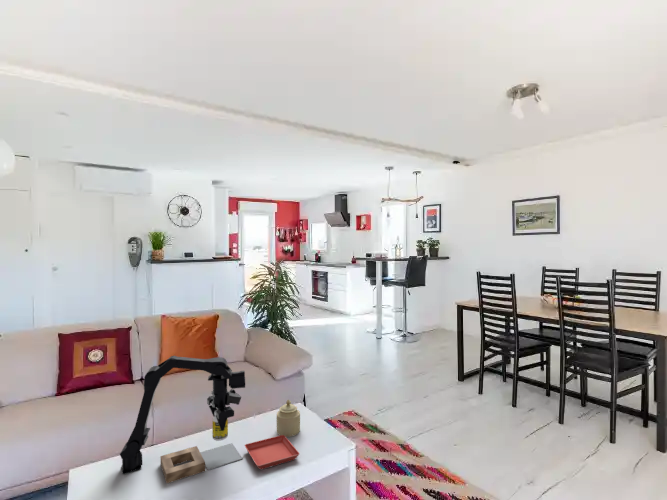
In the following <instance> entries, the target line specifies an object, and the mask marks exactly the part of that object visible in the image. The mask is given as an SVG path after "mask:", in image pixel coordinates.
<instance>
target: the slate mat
mask: <svg viewBox="0 0 667 500" xmlns="http://www.w3.org/2000/svg"><path fill="white" fill-rule="evenodd" d="M200 453H201V455H202V457H203V459H204V461H205V469H207V471H211V470H213V469H216V468H219V467H223V466H227V465H229V464H232V463H235V462H239V461H242V460H244V459H243V458H244V457H242V455H241V454H240V452H239V451H238V449H237V448H236V447H235V445H234V443H233V442H232V443H227V444H223V445H221V446H217V447H214V448H210V449H208V450H204V451H200Z"/></svg>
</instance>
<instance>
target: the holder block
mask: <svg viewBox="0 0 667 500" xmlns="http://www.w3.org/2000/svg"><path fill="white" fill-rule="evenodd" d="M200 452H201V451H200V449H199V448H198V445H196V446H192V447H188V448H186V449H181V450H178V451H175V452H171V453H167V454H164V455H160V457H159V458H160V467H161V470H162V473H163V478H164V480H165V483H166V484H168V483H170V484H171V483H172V482H173V483H174V482H176V481H179V480H182V479H185V478H187V477H192V476H194V475H198V474H200V473H201V474H202V473H204V472H206V466H205V461H204V459H203V457H202V455H201V453H200ZM186 462H187V463H186ZM179 464H180V465H179Z"/></svg>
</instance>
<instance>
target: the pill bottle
mask: <svg viewBox="0 0 667 500" xmlns="http://www.w3.org/2000/svg"><path fill="white" fill-rule="evenodd" d="M216 411H217V410H215V412H214V415H216ZM211 426H212V432H211V434H212V439H213V440H214V441H216V442H217V441H218V442H219V441H223V440H226V439H227V438H228V435H229V418H227V421H226V424H225V428H224V430H221V429H220V426H219V424H218V421H217V419H216V416H214V417H212V425H211Z"/></svg>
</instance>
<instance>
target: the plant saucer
mask: <svg viewBox="0 0 667 500" xmlns="http://www.w3.org/2000/svg"><path fill="white" fill-rule="evenodd" d="M244 447H245V448H246V450H247V452H248V453H249V456H250V457H251V458H252V460H253V462H254V463H255V465H256V468H258V469H259V470H264V469H268V468H271V466H272V467H275V466H277V465H278V464H279V465H281V463H282V464H285V463H288V461H289V462H292V461H294V460H296V459H297V458H298V457H299V455H300V452H299V451H298V449H296V447H295V446H294V445H293V444H292V442H291V441H290V440H289V439H288V437H285V436H284V435H276V436H273V437H268V438H264V439H262V440H257V441H253V442H250V443H246V444H244ZM291 460H292V461H291Z"/></svg>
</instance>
